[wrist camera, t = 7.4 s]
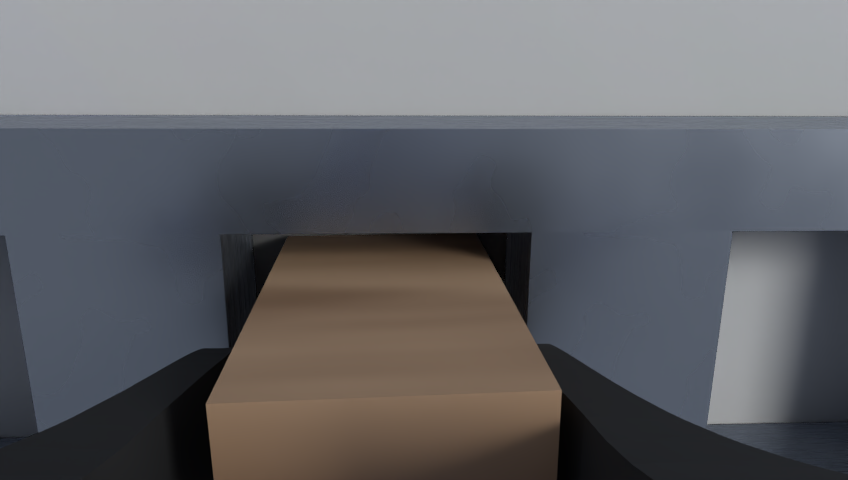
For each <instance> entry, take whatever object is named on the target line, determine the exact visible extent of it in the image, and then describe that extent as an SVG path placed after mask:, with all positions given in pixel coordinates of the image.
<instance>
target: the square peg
mask: <svg viewBox="0 0 848 480" xmlns="http://www.w3.org/2000/svg"><path fill="white" fill-rule="evenodd" d="M561 396H562V390H561V388H560V386H559V384H558V382H557V380H556V379H555V377H554V375H553V373H552V371H551V369H550V368H549V366H548V364H547V362H546V360H545V359H544V357H543V355H542V353H541V351H540V349H539V348H538V346H537V344H536V342H535V340H534V338H533V337H532V335H531V333H530V331H529V329H528V327H527V326H526V324H525V322H524V320H523V318H522V316H521V315H520V313H519V311H518V309H517V307H516V305H515V304H514V302H513V300H512V298H511V296H510V294H509V293H508V291H507V289H506V287H505V285H504V284H503V282H502V280H501V278H500V276H499V274H498V273H497V271H496V269H495V267H494V265H493V263H492V262H491V260H490V258H489V256H488V254H487V252H486V251H485V249H484V247H483V245H482V243H481V241H480V240H479V238H478V236H477V234H476V233H436V234H378V235H326V236H288V237H287V239H286V241H285V243H284V245H283V247H282V249H281V251H280V253H279V255H278V257H277V259H276V261H275V263H274V265H273V268H272V270H271V272H270V274H269V276H268V278H267V280H266V282H265V284H264V286H263V288H262V290H261V292H260V294H259V296H258V298H257V300H256V302H255V304H254V306H253V308H252V310H251V312H250V315H249V317H248V319H247V321H246V323H245V325H244V327H243V329H242V331H241V333H240V335H239V337H238V339H237V341H236V343H235V345H234V347H233V349H232V351H231V353H230V355H229V357H228V359H227V361H226V364H225V366H224V368H223V370H222V372H221V374H220V376H219V378H218V380H217V382H216V384H215V386H214V388H213V390H212V392H211V394H210V396H209V398H208V400H207V402H206V412H207V421H208V430H209V440H210V449H211V459H212V468H213V478H214V480H557V468H558V450H559V432H560V414H561Z"/></svg>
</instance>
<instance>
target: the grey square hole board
mask: <svg viewBox="0 0 848 480" xmlns="http://www.w3.org/2000/svg"><path fill="white" fill-rule="evenodd" d="M733 231H848V116H307V115H0V236H5V240H6V245H7V251H8V257H9V263H10V269H11V275H12V281H13V287H14V293H15V299H16V305H17V311H18V317H19V322H20V328H21V334H22V340H23V346H24V352H25V358H26V364H27V370H28V376H29V382H30V388H31V393H32V399H33V405H34V411H35V417H36V423H37V429H38V433H39V432H41V431H44V430H46V429H48V428H50V427H53V426H55V425H57V424H59V423H61V422H63V421H66V420H68V419H70V418H72V417H74V416H76V415H78V414H80V413H82V412H83V411H85V410H87V409H89V408H91V407H93V406H95V405H97V404H99V403H101V402H103V401H105V400H107V399H109V398H111V397H112V396H114V395H116V394H118V393H120V392H122V391H124V390H126V389H127V388H129V387H131V386H133V385H134V384H136V383H138V382H140V381H141V380H143V379H145V378H147V377H148V376H150V375H152V374H154V373H156V372H157V371H159V370H161V369H163V368H164V367H166V366H168V365H169V364H171V363H173V362H175V361H177V360H178V359H180V358H182V357H184V356H186V355H188V354H190V353H192V352H194V351H197V350H199V349H202V348H233V347H234V345H235V343H236V341H237V339H238V337H239V335H240V333H241V331H242V329H243V327H244V325H245V323H246V321H247V319H248V317H249V315H250V312H251V310H252V308H253V306H254V304H255V302H256V300H257V299H256V283H255V268H254V253H253V238H252V234H352V233H507V244H506V269H505V287H506V289H507V291H508V293H509V294H510V296H511V298H512V300H513V302H514V304H515V305H516V307H517V309H518V311H519V313H520V315H521V316H522V318H523V320H524V322H525V324H526V326H527V327H528V329H529V331H530V333H531V335H532V337H533V338H534V340H535V342H536V344H551V345H553V346H555V347H557V348H559V349H561V350H563V351H564V352H566V353H568V354H569V355H571V356H573V357H574V358H576V359H577V360H579V361H581V362H582V363H584V364H585V365H587V366H588V367H590V368H592V369H593V370H595V371H596V372H598V373H600V374H601V375H603V376H604V377H606V378H608V379H609V380H611V381H613V382H614V383H616V384H618V385H619V386H621V387H623V388H624V389H626V390H628V391H630V392H631V393H633V394H635V395H637V396H639V397H640V398H642V399H644V400H646V401H648V402H650V403H652V404H654V405H656V406H657V407H659V408H661V409H663V410H665V411H667V412H669V413H671V414H673V415H675V416H677V417H680V418H682V419H684V420H686V421H688V422H691V423H693V424H695V425H698V426H700V427H703V428H705V429H707V430H710V431H712V432H714V433H717V434H719V435H722V436H724V437H727V438H729V439H732V440H735V441H738V442H740V443H743V444H746V445H749V446H752V447H755V448H758V449H761V450H764V451H767V452H770V453H773V454H776V455H779V456H782V457H785V458H789V459H792V460H795V461H799V462H803V463H806V464H810V465H813V466H817V467H821V468H824V469H829V470H833V471H837V472H841V473H845V474H848V422H827V423H774V424H722V425H707V420H708V412H709V405H710V397H711V390H712V382H713V375H714V367H715V360H716V352H717V345H718V338H719V330H720V323H721V315H722V308H723V300H724V293H725V285H726V278H727V271H728V263H729V256H730V248H731V241H732V233H733ZM22 439H25V438H0V448H2V447H5V446H7V445H10V444H12V443H15V442H17V441H20V440H22Z"/></svg>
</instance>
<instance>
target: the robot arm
mask: <svg viewBox="0 0 848 480" xmlns="http://www.w3.org/2000/svg"><path fill="white" fill-rule="evenodd" d="M537 346H538V348H539V349H540V351H541V353H542V355H543V357H544V359H545V360H546V362H547V364H548V366H549V368H550V369H551V371H552V373H553V375H554V377H555V379H556V380H557V382H558V384H559V386H560V388H561V390H562V396H561V414H560V432H559V450H558V468H557V480H848V474H845V473H841V472H837V471H833V470H829V469H824V468H821V467H817V466H813V465H810V464H806V463H803V462H799V461H795V460H792V459H789V458H785V457H782V456H779V455H776V454H773V453H770V452H767V451H764V450H761V449H758V448H755V447H752V446H749V445H746V444H743V443H740V442H738V441H735V440H732V439H729V438H727V437H724V436H722V435H719V434H717V433H714V432H712V431H710V430H707V429H705V428H703V427H700V426H698V425H695V424H693V423H691V422H688V421H686V420H684V419H682V418H680V417H677V416H675V415H673V414H671V413H669V412H667V411H665V410H663V409H661V408H659V407H657V406H656V405H654V404H652V403H650V402H648V401H646V400H644V399H642V398H640V397H639V396H637V395H635V394H633V393H631V392H630V391H628V390H626V389H624V388H623V387H621V386H619V385H618V384H616V383H614V382H613V381H611V380H609V379H608V378H606V377H604V376H603V375H601V374H600V373H598V372H596V371H595V370H593V369H592V368H590V367H588V366H587V365H585V364H584V363H582V362H581V361H579V360H577V359H576V358H574V357H573V356H571V355H569V354H568V353H566V352H564V351H563V350H561V349H559V348H557V347H555V346H553V345H551V344H537ZM232 349H233V348H202V349H199V350H197V351H194V352H192V353H190V354H188V355H186V356H184V357H182V358H180V359H178V360H177V361H175V362H173V363H171V364H169V365H168V366H166V367H164V368H163V369H161V370H159V371H157V372H156V373H154V374H152V375H150V376H148V377H147V378H145V379H143V380H141V381H140V382H138V383H136V384H134V385H133V386H131V387H129V388H127V389H126V390H124V391H122V392H120V393H118V394H116V395H114V396H112V397H111V398H109V399H107V400H105V401H103V402H101V403H99V404H97V405H95V406H93V407H91V408H89V409H87V410H85V411H83V412H82V413H80V414H78V415H76V416H74V417H72V418H70V419H68V420H66V421H63V422H61V423H59V424H57V425H55V426H53V427H50V428H48V429H46V430H44V431H41V432H39V433H37V434H34V435H32V436H29V437H27V438H25V439H22V440H20V441H17V442H15V443H12V444H10V445H7V446H5V447H2V448H0V480H214V478H213V468H212V459H211V449H210V440H209V430H208V421H207V412H206V402H207V400H208V398H209V396H210V394H211V392H212V390H213V388H214V386H215V384H216V382H217V380H218V378H219V376H220V374H221V372H222V370H223V368H224V366H225V364H226V361H227V359H228V357H229V355H230V353H231V351H232Z"/></svg>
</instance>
